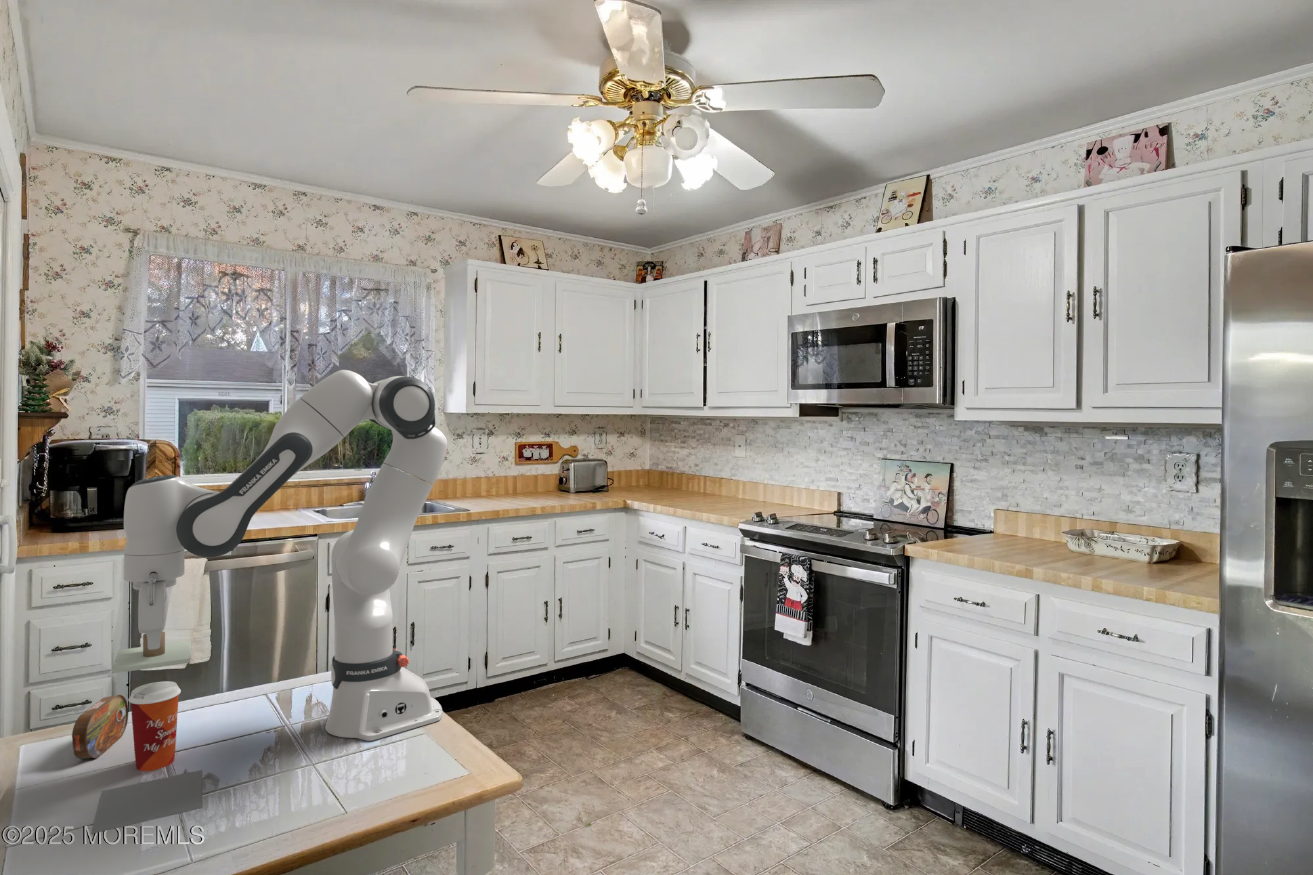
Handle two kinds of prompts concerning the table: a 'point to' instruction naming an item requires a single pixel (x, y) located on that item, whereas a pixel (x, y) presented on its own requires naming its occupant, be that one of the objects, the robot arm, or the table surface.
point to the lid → (152, 656)
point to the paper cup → (154, 724)
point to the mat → (148, 801)
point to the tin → (100, 727)
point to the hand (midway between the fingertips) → (154, 644)
